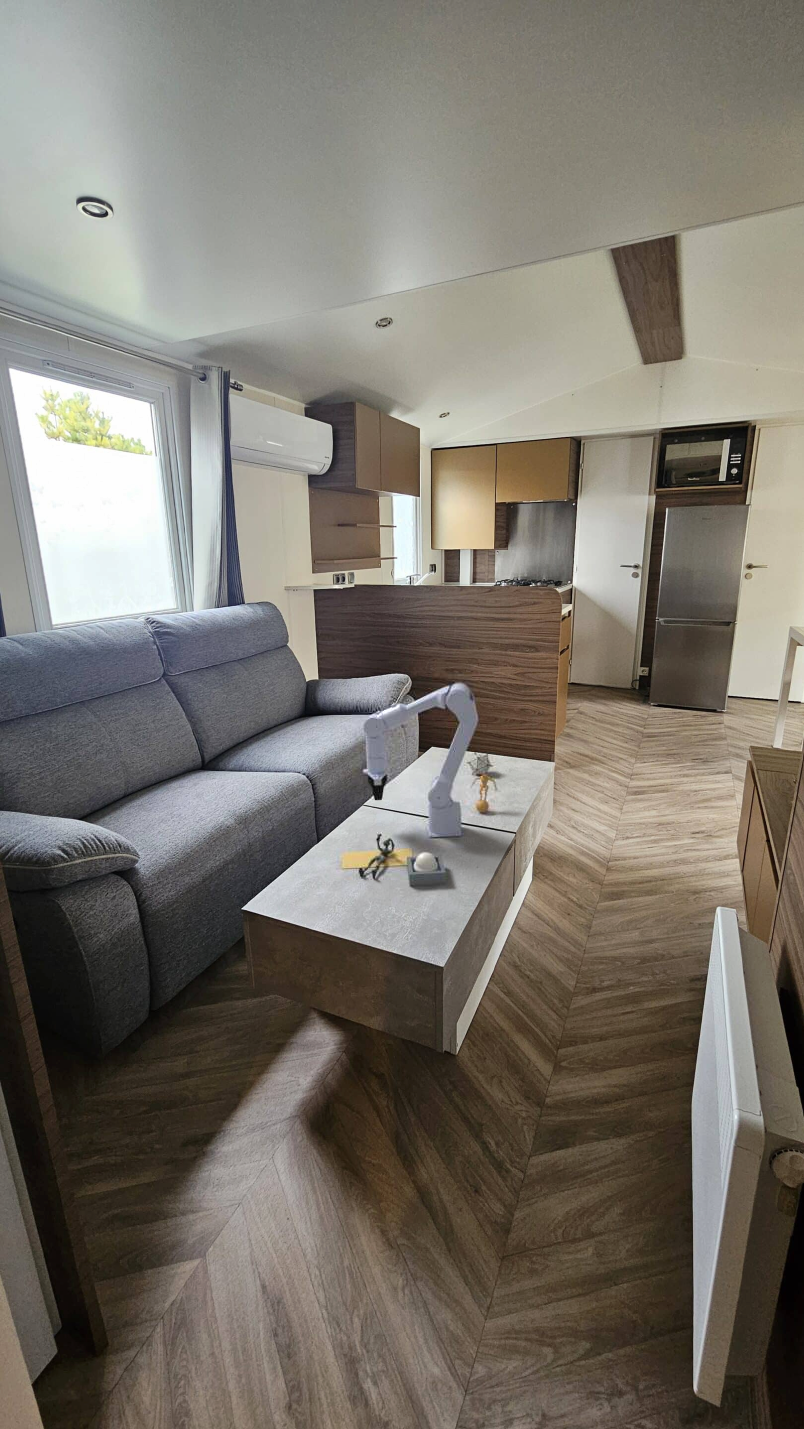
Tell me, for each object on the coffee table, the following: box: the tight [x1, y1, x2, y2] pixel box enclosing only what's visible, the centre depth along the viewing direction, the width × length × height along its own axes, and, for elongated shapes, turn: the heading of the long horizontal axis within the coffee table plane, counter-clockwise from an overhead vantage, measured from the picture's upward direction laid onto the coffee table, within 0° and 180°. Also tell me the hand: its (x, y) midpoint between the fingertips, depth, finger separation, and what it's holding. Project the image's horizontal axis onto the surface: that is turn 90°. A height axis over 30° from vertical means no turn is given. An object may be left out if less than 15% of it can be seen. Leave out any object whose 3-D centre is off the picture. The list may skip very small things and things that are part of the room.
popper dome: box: [414, 851, 438, 872], centre depth 155 cm, size 6×6×5 cm
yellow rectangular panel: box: [341, 848, 414, 870], centre depth 166 cm, size 19×9×1 cm, turn 94°
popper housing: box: [406, 854, 447, 887], centre depth 156 cm, size 9×9×3 cm
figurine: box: [470, 773, 498, 813], centre depth 193 cm, size 8×6×12 cm
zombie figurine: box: [358, 833, 395, 880], centre depth 162 cm, size 5×7×15 cm
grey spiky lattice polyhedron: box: [466, 752, 494, 776], centre depth 224 cm, size 9×8×10 cm
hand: (378, 799), depth 181 cm, fingers closed
